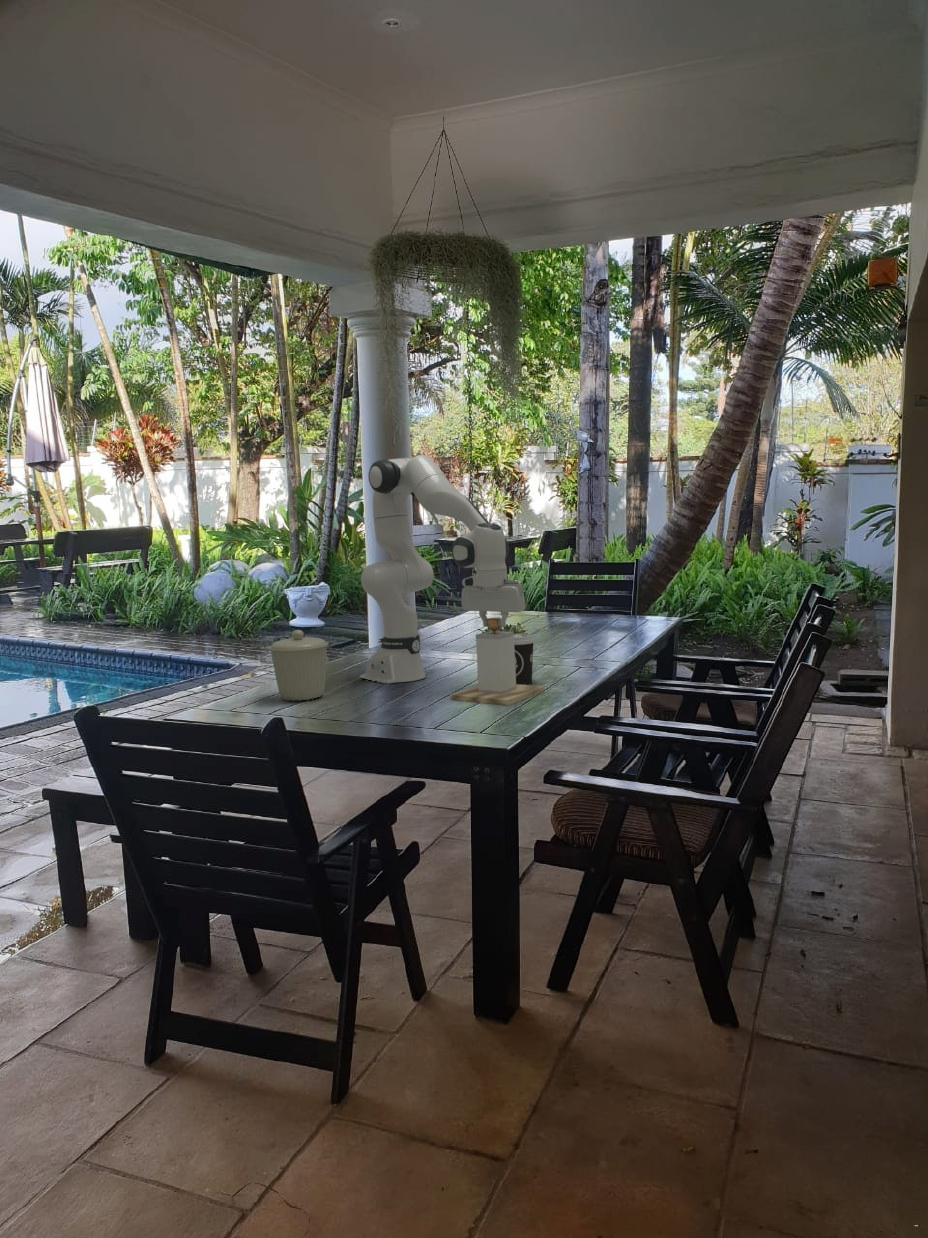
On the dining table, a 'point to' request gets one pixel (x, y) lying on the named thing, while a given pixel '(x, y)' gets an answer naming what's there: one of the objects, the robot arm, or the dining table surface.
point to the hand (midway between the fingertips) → (494, 626)
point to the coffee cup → (523, 658)
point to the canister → (300, 666)
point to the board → (497, 695)
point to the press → (496, 662)
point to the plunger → (493, 624)
